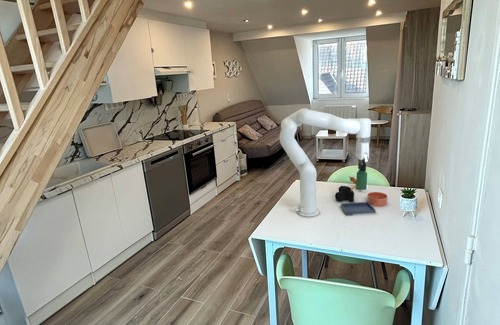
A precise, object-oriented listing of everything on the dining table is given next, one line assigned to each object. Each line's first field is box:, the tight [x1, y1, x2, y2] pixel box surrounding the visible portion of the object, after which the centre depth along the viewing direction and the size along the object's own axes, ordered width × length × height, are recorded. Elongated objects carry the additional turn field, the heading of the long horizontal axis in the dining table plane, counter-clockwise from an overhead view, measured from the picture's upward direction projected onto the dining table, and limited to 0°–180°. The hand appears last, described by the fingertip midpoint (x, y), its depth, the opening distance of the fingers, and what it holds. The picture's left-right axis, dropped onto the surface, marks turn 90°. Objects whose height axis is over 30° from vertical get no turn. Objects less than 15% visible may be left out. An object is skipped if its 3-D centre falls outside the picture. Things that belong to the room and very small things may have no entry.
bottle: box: [355, 160, 368, 191], centre depth 185 cm, size 6×6×18 cm
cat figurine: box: [348, 174, 369, 193], centre depth 222 cm, size 13×12×18 cm
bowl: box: [366, 191, 389, 207], centre depth 197 cm, size 12×12×6 cm
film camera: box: [334, 185, 355, 203], centre depth 205 cm, size 15×10×9 cm, turn 16°
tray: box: [340, 201, 376, 216], centre depth 190 cm, size 17×12×2 cm
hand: (362, 169), depth 184 cm, fingers closed on bottle, 2 cm apart
